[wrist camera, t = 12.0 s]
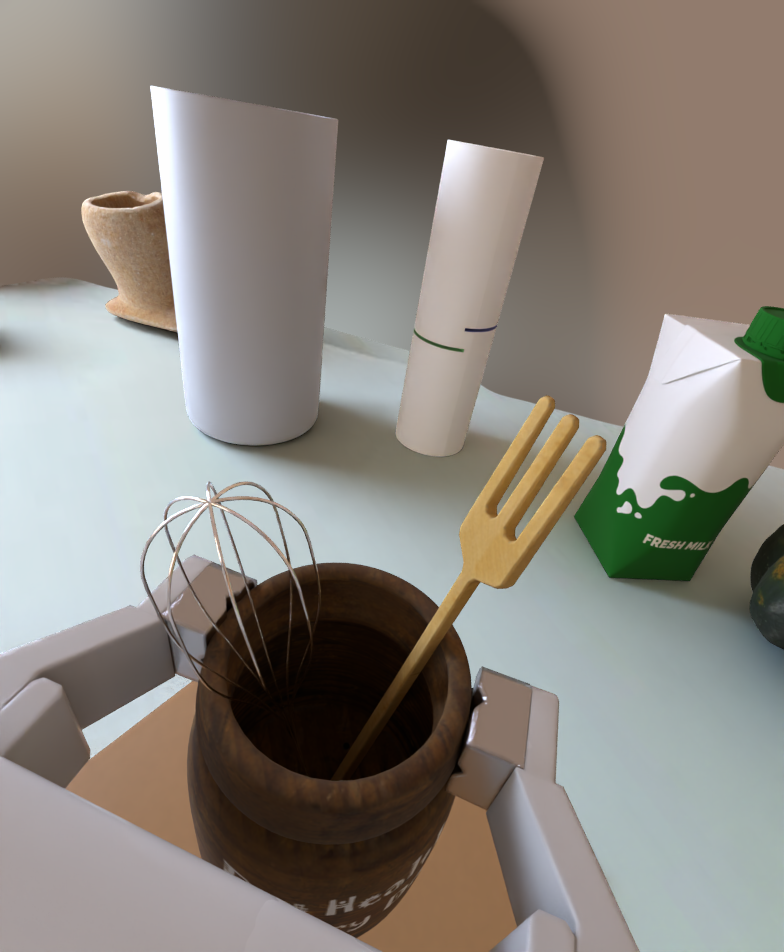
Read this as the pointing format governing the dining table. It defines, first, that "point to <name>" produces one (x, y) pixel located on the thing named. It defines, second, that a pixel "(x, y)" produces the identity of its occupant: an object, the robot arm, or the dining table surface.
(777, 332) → the milk carton
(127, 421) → the dining table surface
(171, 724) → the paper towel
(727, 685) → the dining table surface
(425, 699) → the utensil holder
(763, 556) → the squash
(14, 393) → the dining table surface
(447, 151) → the cylindrical container
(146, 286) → the stone cup
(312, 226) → the cylinder vase
